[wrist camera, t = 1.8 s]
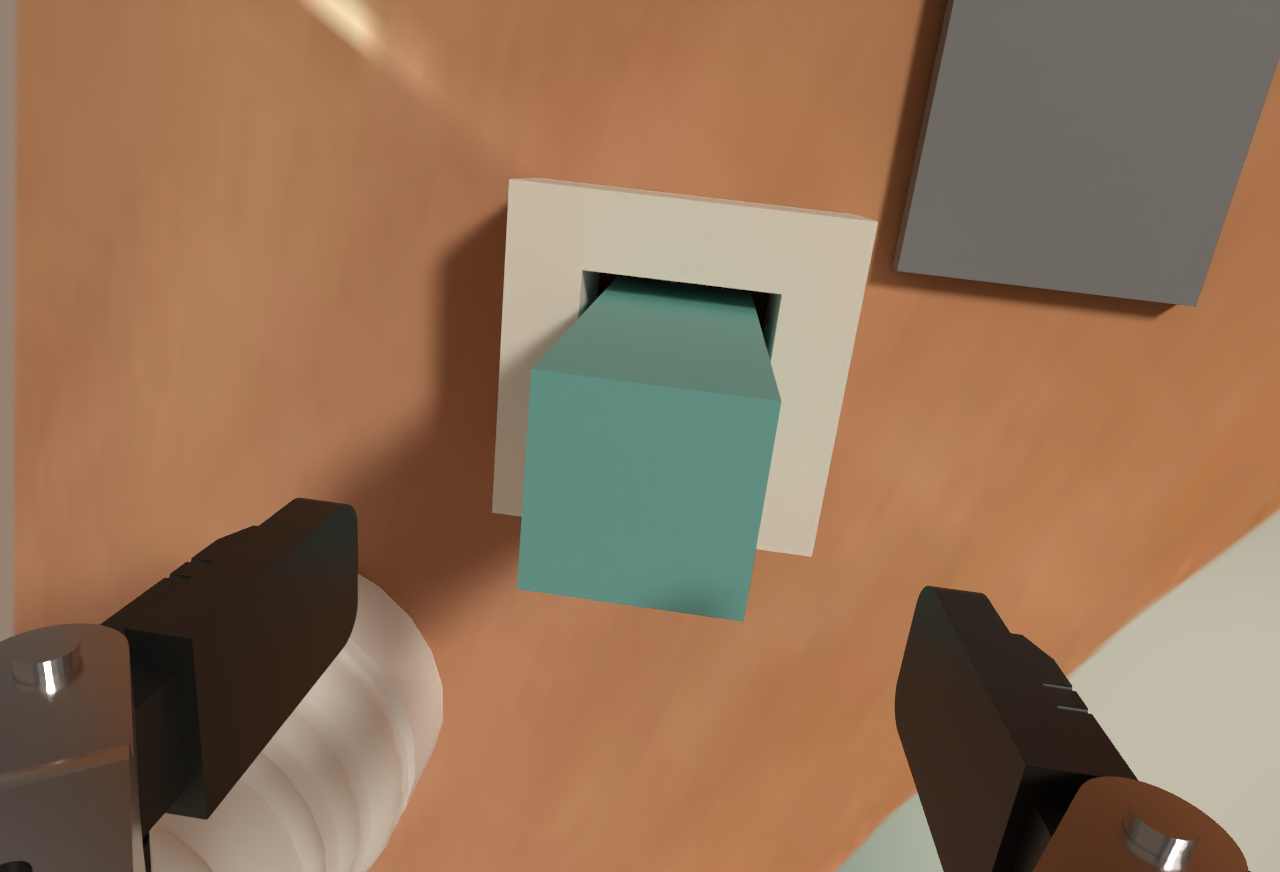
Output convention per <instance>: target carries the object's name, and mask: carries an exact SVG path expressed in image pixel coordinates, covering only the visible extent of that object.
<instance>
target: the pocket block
mask: <svg viewBox="0 0 1280 872" xmlns="http://www.w3.org/2000/svg"><path fill="white" fill-rule="evenodd" d="M877 225H878V222H877V221H874V220H871V219H867V218H864V217H861V216H858V215H855V214H848V213H840V212H831V211H823V210H814V209H805V208H797V207H788V206H779V205H771V204H762V203H754V202H745V201H736V200H728V199H719V198H710V197H702V196H693V195H684V194H676V193H667V192H659V191H650V190H641V189H633V188H624V187H615V186H607V185H598V184H590V183H581V182H572V181H564V180H555V179H546V178H522V179H509V194H508V213H507V232H506V252H505V271H504V290H503V310H502V329H501V348H500V368H499V387H498V406H497V426H496V445H495V464H494V484H493V503H492V513H499V514H506V515H513V516H521V517H522V504H523V488H524V473H525V457H526V442H527V427H528V411H529V396H530V380H531V369H532V368H533V367H534V366H535V365H536V364H537V363H538V362H539V360H540V359H541V358H542V357H543V356H544V355H545V354H546V353H547V352H548V351H549V350H550V349H551V348H552V346H553V345H554V344H555V343H556V342H557V341H558V340H559V339H560V338H561V337H562V336H563V335H564V334H565V333H566V331H567V330H568V329H569V328H570V327H571V326H572V325H573V324H574V323H575V322H576V321H577V320H578V319H579V317H580V316H581V315H582V314H583V313H584V312H585V311H586V310H587V309H588V308H589V307H590V306H591V305H592V303H593V302H594V301H595V300H596V299H597V298H598V289H599V278H600V272H602V273H610V274H619V275H627V276H635V277H643V278H651V279H660V280H668V281H676V282H684V283H693V284H701V285H709V286H717V287H725V288H734V289H742V290H750V291H758V292H767V293H770V294H769V300H768V306H767V312H766V319H765V325H764V331H763V337H764V341H765V344H766V348H767V351H768V355H769V359H770V362H771V366H772V369H773V373H774V376H775V380H776V384H777V387H778V391H779V394H780V398H781V407H780V413H779V419H778V425H777V430H776V436H775V442H774V448H773V454H772V459H771V465H770V471H769V477H768V483H767V488H766V494H765V500H764V506H763V512H762V517H761V523H760V529H759V535H758V540H757V546H756V549H759V550H767V551H774V552H781V553H788V554H796V555H803V556H810V557H812V552H813V547H814V542H815V537H816V532H817V527H818V522H819V517H820V512H821V507H822V502H823V497H824V492H825V487H826V482H827V477H828V472H829V467H830V462H831V457H832V452H833V447H834V442H835V437H836V432H837V427H838V422H839V417H840V412H841V407H842V401H843V396H844V391H845V386H846V381H847V376H848V371H849V366H850V361H851V356H852V351H853V346H854V341H855V336H856V331H857V326H858V321H859V316H860V311H861V306H862V301H863V296H864V291H865V286H866V281H867V276H868V271H869V266H870V261H871V256H872V251H873V246H874V240H875V235H876V230H877Z"/></svg>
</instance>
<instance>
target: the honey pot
mask: <svg viewBox="0 0 1280 872" xmlns="http://www.w3.org/2000/svg"><path fill="white" fill-rule="evenodd" d="M442 722H443V687H442V684H441V680H440V677H439V674H438V671H437V667H436V664H435V661H434V658H433V654H432V651H431V650H430V648H429V646H428V645H427V643H426V641H425V640H424V638H423V637H422V635H421V633H420V632H419V630H418V629H417V627H416V625H415V624H414V622H413V621H412V619H411V617H410V616H409V615H408V614H407V613H406V612H405V611H404V610H403V609H402V608H401V607H400V606H399V605H398V604H397V603H396V602H395V601H394V600H393V599H392V598H391V597H390V596H389V595H388V594H387V593H386V592H385V591H383V590H382V589H381V588H380V587H379V586H378V585H376V584H374V583H373V582H371V581H370V580H368V579H366V578H365V577H363V576H362V575H360V574H358V608H357V615H356V620H355V624H354V627H353V630H352V633H351V635H350V638H349V640H348V642H347V643H346V645H345V646H344V648H343V649H342V650H341V652H340V653H339V654H338V656H337V657H336V658H335V659H334V661H333V662H332V663H331V664H330V666H329V667H328V668H327V669H326V671H325V672H324V673H323V674H322V676H321V677H320V678H319V680H318V681H317V682H316V683H315V685H314V686H313V687H312V688H311V690H310V691H309V692H308V693H307V695H306V696H305V697H304V698H303V700H302V701H301V702H300V703H299V705H298V706H297V707H296V709H295V710H294V711H293V712H292V714H291V715H290V716H289V717H288V719H287V720H286V721H285V722H284V724H283V725H282V726H281V727H280V729H279V730H278V731H277V733H276V734H275V735H274V736H273V738H272V739H271V740H270V741H269V743H268V744H267V745H266V746H265V748H264V749H263V750H262V751H261V753H260V754H259V755H258V756H257V758H256V759H255V760H254V762H253V763H252V764H251V765H250V767H249V768H248V769H247V770H246V772H245V773H244V774H243V775H242V777H241V778H240V779H239V780H238V782H237V783H236V784H235V786H234V787H233V788H232V789H231V791H230V792H229V793H228V794H227V796H226V797H225V798H224V799H223V801H222V802H221V803H220V804H219V806H218V807H217V808H216V810H215V811H214V812H213V813H212V815H211V816H210V817H209V818H208V820H205V819H199V818H192V817H186V816H180V815H174V814H168V813H165V814H164V815H163V816H162V817H161V818H160V819H159V820H158V822H157V823H156V824H155V825H154V826H153V827H152V829H151V830H150V837H151V846H152V857H153V872H367V871H368V870H369V869H370V867H371V866H372V865H373V863H374V862H375V861H376V859H377V858H378V857H379V855H380V854H381V853H382V851H383V850H384V849H385V847H386V846H387V845H388V843H389V839H390V836H391V833H392V831H393V830H394V828H395V827H396V826H397V824H398V822H399V819H400V816H401V814H402V813H403V812H404V810H405V808H406V806H407V804H408V802H409V800H410V798H411V796H412V794H413V792H414V790H415V788H416V786H417V784H418V782H419V780H420V778H421V775H422V773H423V771H424V769H425V767H426V765H427V763H428V761H429V759H430V757H431V755H432V753H433V750H434V747H435V744H436V741H437V738H438V735H439V731H440V728H441V725H442Z"/></svg>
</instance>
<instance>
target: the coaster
mask: <svg viewBox="0 0 1280 872" xmlns="http://www.w3.org/2000/svg"><path fill="white" fill-rule="evenodd" d="M1279 57H1280V0H947V5H946V10H945V15H944V19H943V24H942V29H941V34H940V39H939V43H938V48H937V53H936V58H935V63H934V67H933V72H932V77H931V82H930V87H929V91H928V96H927V101H926V106H925V111H924V115H923V120H922V125H921V130H920V135H919V140H918V144H917V149H916V154H915V159H914V164H913V168H912V173H911V178H910V183H909V188H908V192H907V197H906V202H905V207H904V212H903V216H902V221H901V226H900V231H899V236H898V241H897V245H896V250H895V255H894V260H893V265H892V268H893V269H894V270H896V271H901V272H909V273H918V274H926V275H934V276H943V277H951V278H959V279H968V280H976V281H985V282H993V283H1001V284H1010V285H1018V286H1027V287H1035V288H1043V289H1052V290H1060V291H1069V292H1077V293H1085V294H1094V295H1102V296H1111V297H1119V298H1127V299H1136V300H1144V301H1152V302H1161V303H1169V304H1178V305H1186V306H1194V307H1196V304H1197V301H1198V298H1199V295H1200V293H1201V290H1202V287H1203V284H1204V281H1205V278H1206V275H1207V272H1208V269H1209V266H1210V263H1211V260H1212V257H1213V254H1214V251H1215V248H1216V245H1217V242H1218V239H1219V236H1220V233H1221V230H1222V227H1223V224H1224V221H1225V218H1226V215H1227V212H1228V209H1229V206H1230V203H1231V200H1232V197H1233V194H1234V191H1235V188H1236V185H1237V182H1238V179H1239V176H1240V173H1241V170H1242V167H1243V164H1244V162H1245V159H1246V156H1247V153H1248V150H1249V147H1250V144H1251V141H1252V138H1253V135H1254V132H1255V129H1256V126H1257V123H1258V120H1259V117H1260V114H1261V111H1262V108H1263V105H1264V102H1265V99H1266V96H1267V93H1268V90H1269V87H1270V84H1271V81H1272V78H1273V75H1274V72H1275V69H1276V66H1277V63H1278V60H1279Z"/></svg>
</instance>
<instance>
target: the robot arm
mask: <svg viewBox="0 0 1280 872" xmlns="http://www.w3.org/2000/svg"><path fill="white" fill-rule="evenodd" d="M357 608H358V534H357V516H356V512H355V510H354V508H353V507H352V506H351V505H348V504H341V503H334V502H327V501H319V500H312V499H305V498H296V499H294V500H292V501H291V502H290V503H288V504H287V505H286V506H284V507H283V508H282V509H280V510H279V511H278V512H276V513H275V514H274V515H273V516H271V517H270V518H269V519H267V520H266V521H265V522H263V523H262V524H261V525H259V526H251V527H249V528H246V529H243V530H241V531H238V532H236V533H233V534H230V535H228V536H225V537H223V538H220V539H217V540H216V541H215V542H213V543H212V544H210V545H209V546H208V547H206V548H205V549H204V550H202V551H201V552H199V553H198V554H197V555H195V556H194V557H193V558H192V560H191V562H186V563H184V564H183V565H182V566H180V567H179V568H177V569H176V570H175V571H173V572H172V573H171V574H170V577H169V578H164V579H162V580H161V581H159V582H158V583H157V584H155V585H154V586H153V587H151V588H150V589H148V590H147V591H146V592H144V593H143V594H142V595H140V596H139V597H137V598H136V599H135V600H133V601H132V602H131V603H129V604H128V605H126V606H125V607H124V608H122V609H121V610H120V611H118V612H117V613H115V614H114V615H113V616H111V617H110V618H109V619H107V620H106V621H104V622H103V623H102V624H100V625H95V624H64V625H56V626H50V627H45V628H40V629H36V630H32V631H28V632H25V633H22V634H19V635H16V636H13V637H10V638H8V639H6V640H4V641H1V642H0V872H153V857H152V846H151V837H150V830H151V829H152V827H153V826H154V825H155V824H156V823H157V822H158V820H159V819H160V818H161V817H162V816H163V815H164V814H165V813H168V814H174V815H180V816H186V817H192V818H199V819H205V820H208V818H209V817H210V816H211V815H212V813H213V812H214V811H215V810H216V808H217V807H218V806H219V804H220V803H221V802H222V801H223V799H224V798H225V797H226V796H227V794H228V793H229V792H230V791H231V789H232V788H233V787H234V786H235V784H236V783H237V782H238V780H239V779H240V778H241V777H242V775H243V774H244V773H245V772H246V770H247V769H248V768H249V767H250V765H251V764H252V763H253V762H254V760H255V759H256V758H257V756H258V755H259V754H260V753H261V751H262V750H263V749H264V748H265V746H266V745H267V744H268V743H269V741H270V740H271V739H272V738H273V736H274V735H275V734H276V733H277V731H278V730H279V729H280V727H281V726H282V725H283V724H284V722H285V721H286V720H287V719H288V717H289V716H290V715H291V714H292V712H293V711H294V710H295V709H296V707H297V706H298V705H299V703H300V702H301V701H302V700H303V698H304V697H305V696H306V695H307V693H308V692H309V691H310V690H311V688H312V687H313V686H314V685H315V683H316V682H317V681H318V680H319V678H320V677H321V676H322V674H323V673H324V672H325V671H326V669H327V668H328V667H329V666H330V664H331V663H332V662H333V661H334V659H335V658H336V657H337V656H338V654H339V653H340V652H341V650H342V649H343V648H344V646H345V645H346V643H347V642H348V640H349V638H350V635H351V633H352V630H353V627H354V624H355V620H356V615H357ZM1087 710H1088V708H1087V707H1086V705H1085V704H1084V702H1083V701H1082V699H1081V698H1080V697H1079V695H1078V694H1077V692H1076V691H1072V685H1071V684H1070V682H1069V681H1068V679H1067V678H1066V676H1065V675H1064V674H1063V672H1062V671H1061V669H1060V668H1059V666H1058V665H1057V664H1056V662H1055V661H1054V659H1052V658H1051V657H1050V656H1048V655H1047V654H1046V653H1045V652H1043V651H1042V650H1041V649H1040V648H1038V647H1037V646H1036V645H1034V644H1033V643H1032V642H1031V641H1029V640H1028V639H1027V638H1025V637H1024V636H1023V635H1019V634H1012V633H1010V632H1009V630H1008V629H1007V627H1006V626H1005V624H1004V623H1003V621H1002V620H1001V618H1000V616H999V615H998V613H997V612H996V610H995V609H994V607H993V606H992V604H991V602H990V601H989V599H988V598H987V597H986V595H984V594H983V593H977V592H969V591H962V590H955V589H948V588H940V587H933V586H926V587H925V588H923V590H922V591H921V593H920V595H919V598H918V601H917V604H916V608H915V612H914V616H913V620H912V624H911V628H910V632H909V636H908V640H907V644H906V648H905V652H904V657H903V661H902V665H901V669H900V673H899V677H898V681H897V686H896V694H895V719H896V726H897V730H898V733H899V736H900V740H901V743H902V746H903V749H904V752H905V755H906V758H907V761H908V764H909V767H910V770H911V773H912V776H913V779H914V782H915V785H916V788H917V791H918V795H919V797H920V801H921V804H922V806H923V810H924V813H925V816H926V819H927V822H928V825H929V828H930V831H931V834H932V837H933V840H934V843H935V846H936V849H937V853H938V855H939V859H940V862H941V865H942V868H943V871H944V872H1250V871H1248V867H1247V863H1246V859H1245V857H1244V855H1243V853H1242V852H1241V850H1240V848H1239V847H1238V845H1237V844H1236V843H1235V842H1234V840H1233V839H1232V838H1231V837H1230V836H1229V834H1228V833H1227V832H1226V831H1225V830H1224V829H1223V828H1222V827H1221V826H1220V825H1218V824H1217V823H1216V822H1215V821H1214V820H1213V819H1211V818H1210V817H1209V816H1208V815H1206V814H1205V813H1203V812H1202V811H1201V810H1199V809H1198V808H1196V807H1195V806H1193V805H1192V804H1190V803H1188V802H1187V801H1185V800H1183V799H1181V798H1179V797H1178V796H1176V795H1174V794H1172V793H1170V792H1167V791H1165V790H1163V789H1161V788H1158V787H1156V786H1153V785H1150V784H1147V783H1145V782H1141V781H1138V779H1137V778H1136V776H1135V775H1134V774H1133V772H1132V771H1131V769H1130V768H1129V767H1128V765H1127V764H1126V762H1125V761H1124V759H1123V758H1122V756H1121V755H1120V754H1119V752H1118V751H1117V749H1116V748H1115V746H1114V745H1113V744H1112V742H1111V741H1110V739H1109V738H1108V736H1107V735H1106V734H1105V732H1104V731H1103V729H1102V728H1101V726H1100V725H1099V724H1098V722H1097V721H1096V719H1095V718H1094V716H1093V715H1092V714H1088V711H1087Z"/></svg>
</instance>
